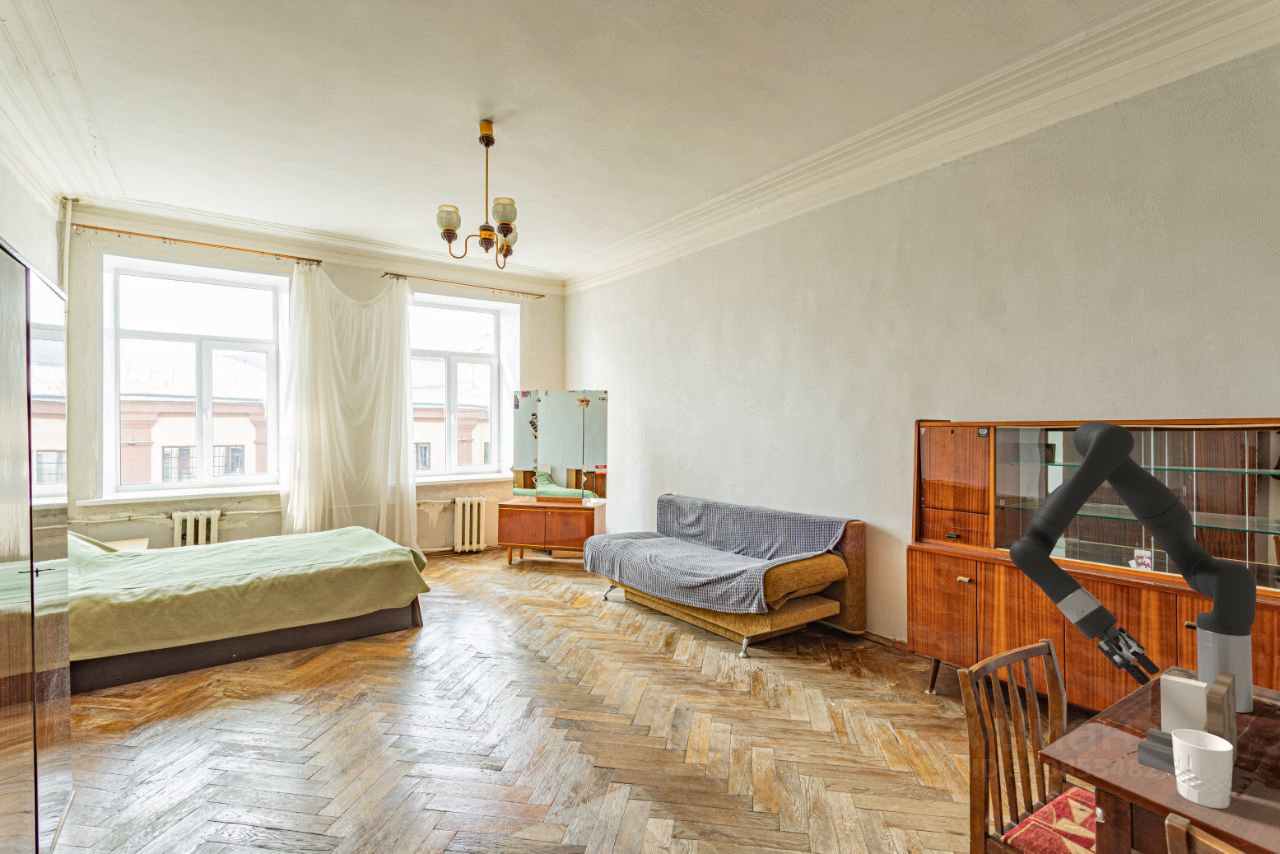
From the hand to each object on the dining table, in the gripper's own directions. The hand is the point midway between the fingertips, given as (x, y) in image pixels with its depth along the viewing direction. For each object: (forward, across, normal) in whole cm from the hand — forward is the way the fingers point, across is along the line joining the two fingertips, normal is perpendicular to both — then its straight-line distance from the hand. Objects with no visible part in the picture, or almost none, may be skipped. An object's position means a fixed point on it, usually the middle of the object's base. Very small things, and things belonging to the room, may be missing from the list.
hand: (1151, 678), depth 132 cm
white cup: (+16, -25, 0) cm, 30 cm away
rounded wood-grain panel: (+13, -11, +3) cm, 17 cm away
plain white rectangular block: (+11, 0, +4) cm, 12 cm away
